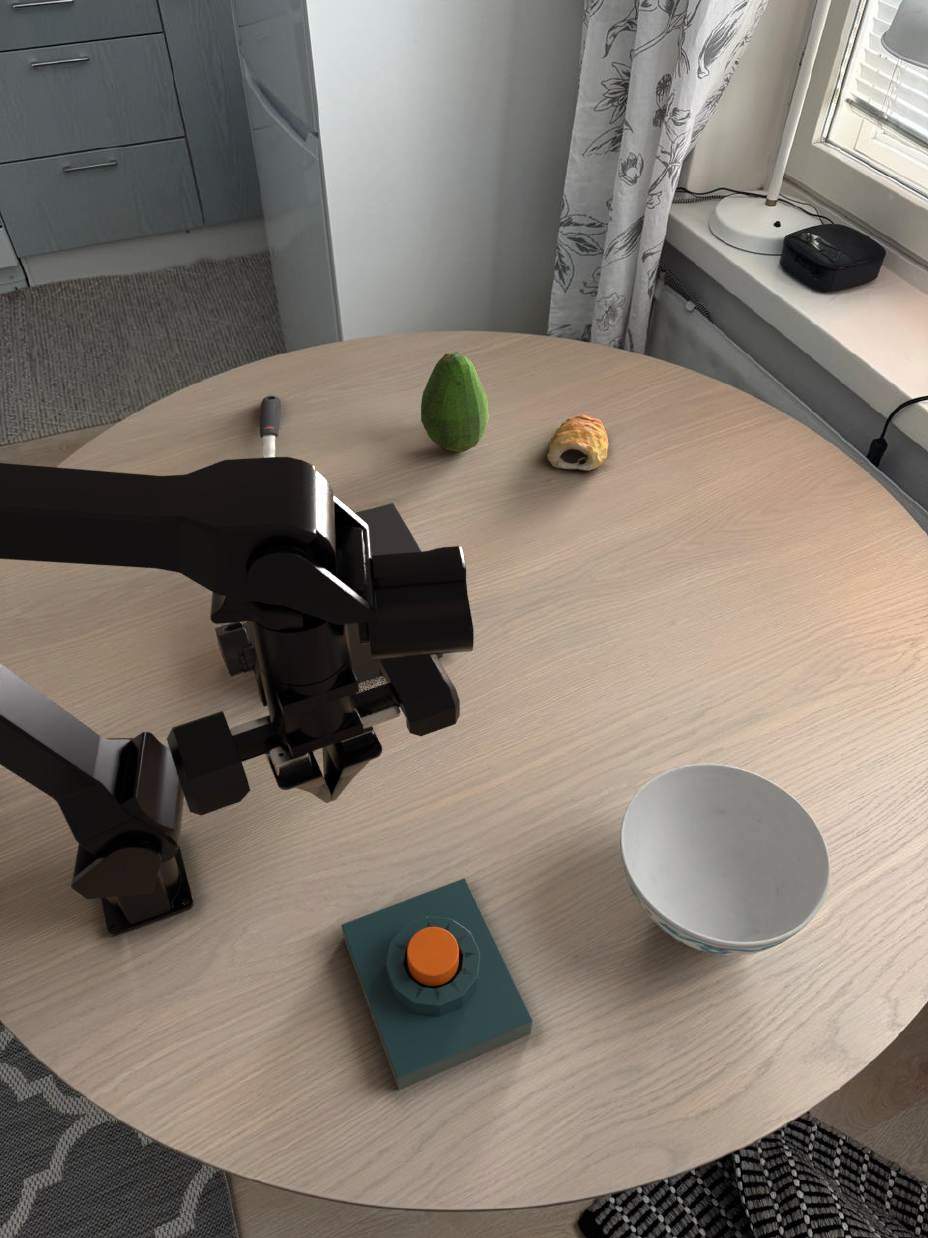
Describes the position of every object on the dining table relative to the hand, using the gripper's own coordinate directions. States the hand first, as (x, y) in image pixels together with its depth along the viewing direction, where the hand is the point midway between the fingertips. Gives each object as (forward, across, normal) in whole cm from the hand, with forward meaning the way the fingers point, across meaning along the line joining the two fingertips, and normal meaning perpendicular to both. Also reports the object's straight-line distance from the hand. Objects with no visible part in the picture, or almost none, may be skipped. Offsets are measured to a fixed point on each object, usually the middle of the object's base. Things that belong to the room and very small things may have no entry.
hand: (329, 796), depth 72 cm
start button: (+6, -3, +12) cm, 14 cm away
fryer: (+10, -10, -24) cm, 28 cm away
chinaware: (+10, -25, +14) cm, 31 cm away
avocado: (+10, -32, -48) cm, 59 cm away
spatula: (+10, -11, -55) cm, 57 cm away
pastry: (+10, -44, -41) cm, 61 cm away
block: (+10, -3, +12) cm, 16 cm away
